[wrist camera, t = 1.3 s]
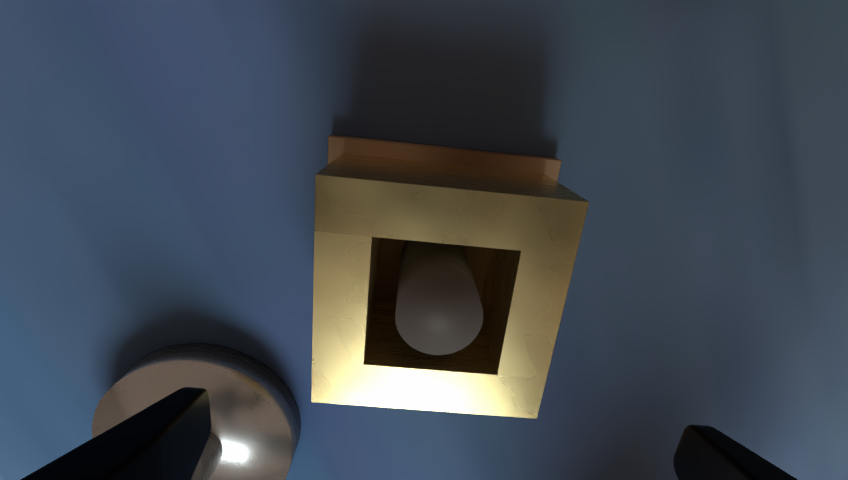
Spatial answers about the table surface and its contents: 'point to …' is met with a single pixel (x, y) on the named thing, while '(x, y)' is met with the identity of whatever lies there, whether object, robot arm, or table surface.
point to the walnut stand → (435, 253)
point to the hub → (216, 408)
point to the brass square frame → (449, 224)
